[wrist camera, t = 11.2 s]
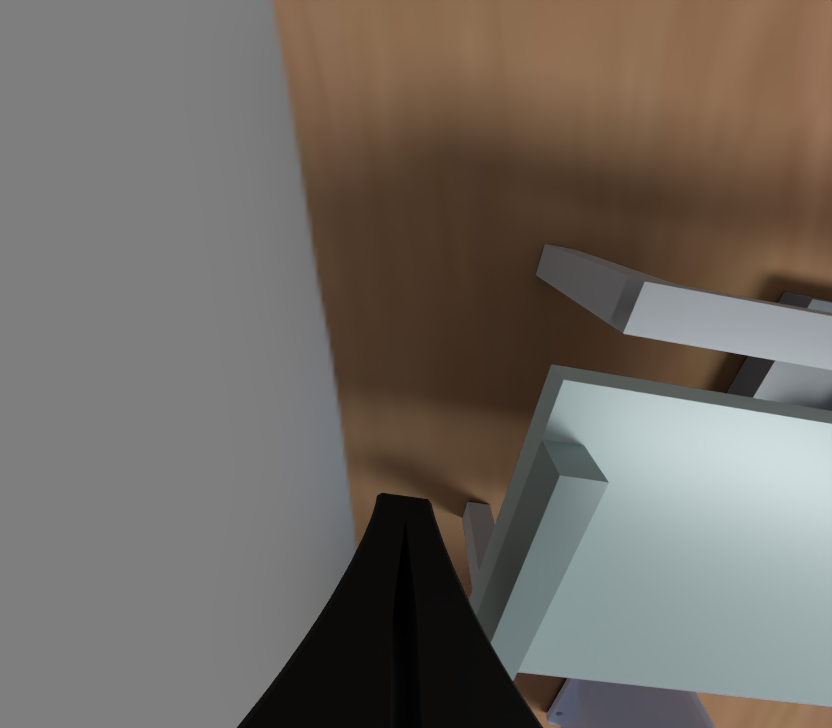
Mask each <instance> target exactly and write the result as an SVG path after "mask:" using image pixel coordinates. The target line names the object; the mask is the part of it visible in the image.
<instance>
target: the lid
mask: <svg viewBox="0 0 832 728" xmlns="http://www.w3.org/2000/svg"><path fill="white" fill-rule="evenodd" d="M469 602H470V604H471V606H472V608H473V610H474V613H475V615H476V617H477V619H478V620H479V622H480V624H481V626H482V628H483V630H484V632H485V634H486V636H487V638H488V639H489V641H490V643H491V645H492V647H493V648H494V650H495V652H496V654H497V655H498V657H499V659H500V661H501V662H502V664H503V666H504V667H505V669H506V671H507V672H508V674H509V676H510V677H511V679H512V681H514V679H515V676H516V674H517V672H518V671H527V672H536V673H545V674H554V675H563V676H572V677H581V678H590V679H599V680H608V681H617V682H627V683H636V684H645V685H654V686H663V687H672V688H681V689H690V690H699V691H708V692H717V693H726V694H736V695H745V696H754V697H763V698H772V699H781V700H790V701H799V702H808V703H817V704H826V705H832V411H829V410H823V409H817V408H811V407H805V406H799V405H793V404H787V403H781V402H775V401H769V400H763V399H757V398H751V397H745V396H739V395H733V394H727V393H721V392H715V391H709V390H703V389H697V388H691V387H685V386H679V385H673V384H667V383H661V382H655V381H649V380H643V379H637V378H631V377H625V376H619V375H613V374H607V373H601V372H595V371H589V370H583V369H577V368H571V367H565V366H559V365H553V364H551V366H550V369H549V372H548V375H547V378H546V381H545V384H544V386H543V389H542V392H541V395H540V398H539V401H538V404H537V406H536V409H535V412H534V415H533V418H532V421H531V424H530V426H529V429H528V432H527V435H526V438H525V441H524V444H523V446H522V449H521V452H520V455H519V458H518V461H517V464H516V466H515V469H514V472H513V475H512V478H511V481H510V484H509V486H508V489H507V492H506V495H505V498H504V501H503V504H502V507H501V509H500V512H499V515H498V518H497V521H496V524H495V527H494V529H493V532H492V535H491V538H490V541H489V544H488V547H487V549H486V552H485V555H484V558H483V561H482V564H481V567H480V569H479V572H478V575H477V578H476V581H475V584H474V587H473V589H472V592H471V595H470V598H469Z"/></svg>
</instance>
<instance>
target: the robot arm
mask: <svg viewBox="0 0 832 728" xmlns="http://www.w3.org/2000/svg"><path fill="white" fill-rule="evenodd" d="M546 717H547V721H548V723H549V724H552V725H561V728H716V727H715V725H714V723H713V722H712V720H711V718H710V716H709V714H708V713H707V711H706V709H705V707H704V705H703V704H702V702H701V700H700V698H699V697H698V695H697V693H696V692H692V691H683V690H674V689H665V688H656V687H647V686H638V685H629V684H620V683H610V682H601V681H592V680H583V679H574V678H567V680H566V682H565V683H564V685H563V687H562V688H561V690H560V692H559V694H558V695H557V697H556V699H555V701H554V702H553V704H552V706H551V708H550V709H549V711H548V713H547V714H546ZM237 728H543V727H542V725H541V724H540V722H539V721H538V719H537V718H536V716H535V715H534V713H533V712H532V710H531V709H530V707H529V706H528V704H527V703H526V701H525V700H524V698H523V697H522V695H521V694H520V692H519V691H518V689H517V687H516V686H515V684H514V682H513V681H512V679H511V677H510V676H509V674H508V672H507V671H506V669H505V667H504V666H503V664H502V662H501V661H500V659H499V657H498V655H497V654H496V652H495V650H494V648H493V647H492V645H491V643H490V641H489V639H488V638H487V636H486V634H485V632H484V630H483V628H482V626H481V624H480V622H479V620H478V619H477V617H476V615H475V613H474V610H473V608H472V606H471V604H470V602H469V600H468V598H467V596H466V594H465V592H464V590H463V588H462V585H461V583H460V581H459V579H458V576H457V574H456V572H455V569H454V567H453V565H452V562H451V560H450V558H449V555H448V553H447V550H446V547H445V545H444V542H443V539H442V537H441V534H440V531H439V528H438V525H437V522H436V519H435V516H434V512H433V509H432V505H431V503H430V501H429V500H428V499H422V498H415V497H408V496H401V495H393V494H386V493H381V494H379V495H377V499H376V504H375V507H374V511H373V514H372V517H371V519H370V522H369V524H368V527H367V529H366V532H365V534H364V536H363V538H362V540H361V542H360V544H359V546H358V548H357V550H356V553H355V555H354V557H353V559H352V561H351V563H350V564H349V566H348V568H347V570H346V572H345V573H344V575H343V577H342V579H341V580H340V582H339V584H338V586H337V587H336V589H335V591H334V593H333V594H332V596H331V598H330V599H329V601H328V603H327V604H326V606H325V607H324V609H323V611H322V612H321V614H320V615H319V617H318V618H317V620H316V621H315V623H314V624H313V626H312V627H311V629H310V631H309V632H308V634H307V635H306V637H305V638H304V639H303V641H302V642H301V644H300V645H299V647H298V648H297V649H296V651H295V652H294V653H293V655H292V656H291V658H290V659H289V661H288V662H287V663H286V665H285V666H284V667H283V669H282V671H281V672H280V673H279V675H278V676H277V677H276V678H275V680H274V681H273V682H272V684H271V685H270V686H269V688H268V689H267V690H266V692H265V693H264V694H263V695H262V697H261V698H260V699H259V701H258V702H257V703H256V704H255V706H254V707H253V708H252V709H251V711H250V712H249V713H248V714H247V716H246V717H245V718H244V719H243V721H242V722H241V723H240V724H239V726H238V727H237Z"/></svg>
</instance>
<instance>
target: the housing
mask: <svg viewBox="0 0 832 728" xmlns="http://www.w3.org/2000/svg"><path fill="white" fill-rule="evenodd" d="M536 276H538V277H539V278H541V279H542V280H544V281H545V282H547V283H548V284H550V285H551V286H553V287H554V288H556V289H557V290H559V291H560V292H562V293H563V294H565V295H566V296H568V297H569V298H571V299H572V300H574V301H575V302H577V303H578V304H580V305H581V306H583V307H584V308H585V309H587V310H588V311H590V312H591V313H593V314H594V315H596V316H597V317H599V318H600V319H602V320H603V321H605V322H606V323H608V324H609V325H611V326H612V327H614V328H615V329H617V330H618V331H620V332H621V333H623V334H628V335H633V336H639V337H645V338H650V339H656V340H662V341H668V342H673V343H679V344H685V345H690V346H696V347H702V348H708V349H713V350H719V351H725V352H730V353H736V354H742V355H748V356H747V358H746V360H745V361H744V363H743V365H742V367H741V368H740V370H739V372H738V374H737V375H736V377H735V379H734V381H733V382H732V384H731V386H730V388H729V389H728V391H727V394H733V395H739V396H745V397H751V398H757V399H763V400H769V401H775V402H781V403H787V404H793V405H799V406H805V407H811V408H817V409H823V410H829V411H832V301H831V300H825V299H820V298H815V297H809V296H804V295H799V294H794V293H788V292H784V293H783V295H782V297H781V298H780V300H779V302H778V303H775V302H769V301H764V300H759V299H753V298H748V297H742V296H737V295H732V294H726V293H721V292H716V291H710V290H705V289H699V288H694V287H689V286H683V285H678V284H675V283H672V282H669V281H666V280H663V279H660V278H657V277H654V276H651V275H648V274H645V273H642V272H639V271H637V270H634V269H631V268H628V267H625V266H622V265H619V264H616V263H613V262H610V261H607V260H604V259H601V258H598V257H596V256H593V255H590V254H587V253H584V252H581V251H578V250H575V249H570V248H565V247H559V246H554V245H549V244H545V245H544V249H543V252H542V255H541V259H540V262H539V265H538V269H537V272H536ZM462 520H463V527H464V535H465V542H466V549H467V556H468V563H469V570H470V578H471V585H472V589H473V587H474V584H475V581H476V578H477V575H478V572H479V569H480V567H481V564H482V561H483V558H484V555H485V552H486V549H487V547H488V544H489V541H490V538H491V535H492V532H493V529H494V527H495V524H494V520H493V515H492V511H491V507H490V505H488V504H480V503H473V502H467V505H466V508H465V512H464V515H463V518H462ZM518 672H519V673H528V674H538V675H547V676H556V677H565V678H574V679H583V680H592V681H601V682H610V683H620V684H629V685H638V686H647V687H656V688H665V689H674V690H683V691H692V692H702V693H711V694H720V695H729V696H738V697H747V698H756V699H765V700H774V701H784V702H793V703H802V704H811V705H820V706H829V707H832V705H826V704H817V703H808V702H799V701H790V700H781V699H772V698H763V697H754V696H745V695H736V694H726V693H717V692H708V691H699V690H690V689H681V688H672V687H663V686H654V685H645V684H636V683H627V682H617V681H608V680H599V679H590V678H581V677H572V676H563V675H554V674H545V673H536V672H527V671H518Z"/></svg>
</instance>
